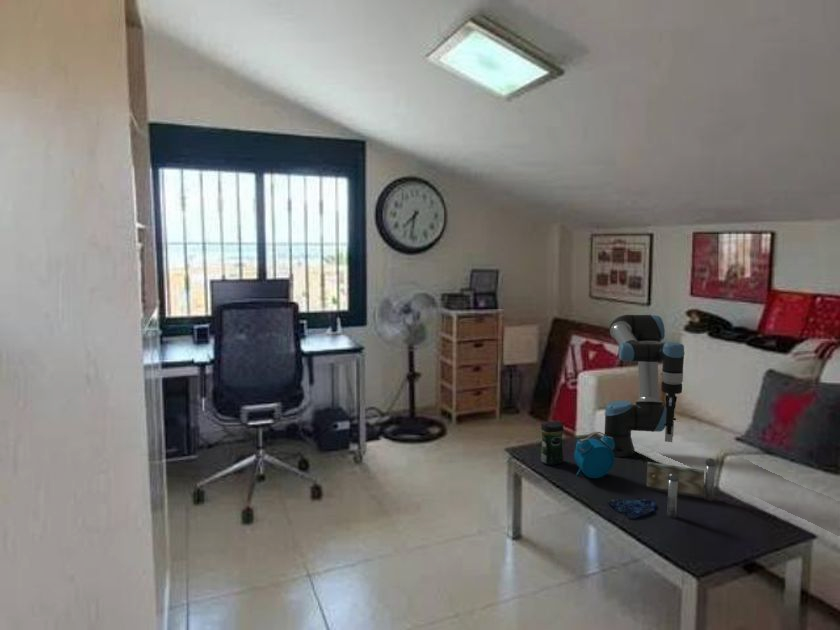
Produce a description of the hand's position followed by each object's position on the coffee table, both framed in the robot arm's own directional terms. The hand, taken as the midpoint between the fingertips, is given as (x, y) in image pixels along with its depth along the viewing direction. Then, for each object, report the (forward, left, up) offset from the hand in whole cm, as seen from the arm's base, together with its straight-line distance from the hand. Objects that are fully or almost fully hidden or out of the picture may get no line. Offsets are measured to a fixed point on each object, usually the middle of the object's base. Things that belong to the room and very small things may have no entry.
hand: (669, 438), depth 230 cm
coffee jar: (+20, -43, -19) cm, 51 cm away
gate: (+6, +7, -18) cm, 20 cm away
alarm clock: (+18, -22, -19) cm, 34 cm away
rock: (+29, +5, -20) cm, 35 cm away
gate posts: (+11, +17, -19) cm, 28 cm away
